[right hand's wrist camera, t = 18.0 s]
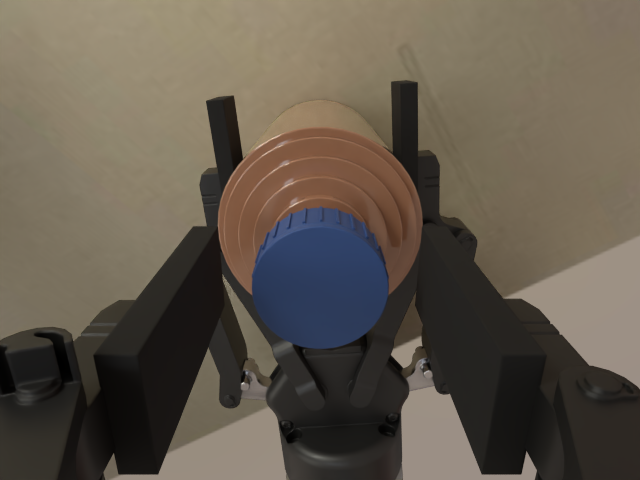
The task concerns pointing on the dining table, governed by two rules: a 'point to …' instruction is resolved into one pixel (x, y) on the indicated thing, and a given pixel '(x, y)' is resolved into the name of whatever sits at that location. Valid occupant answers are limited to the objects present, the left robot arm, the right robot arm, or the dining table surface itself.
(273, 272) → the cap
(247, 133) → the dining table surface
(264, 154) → the bottle
